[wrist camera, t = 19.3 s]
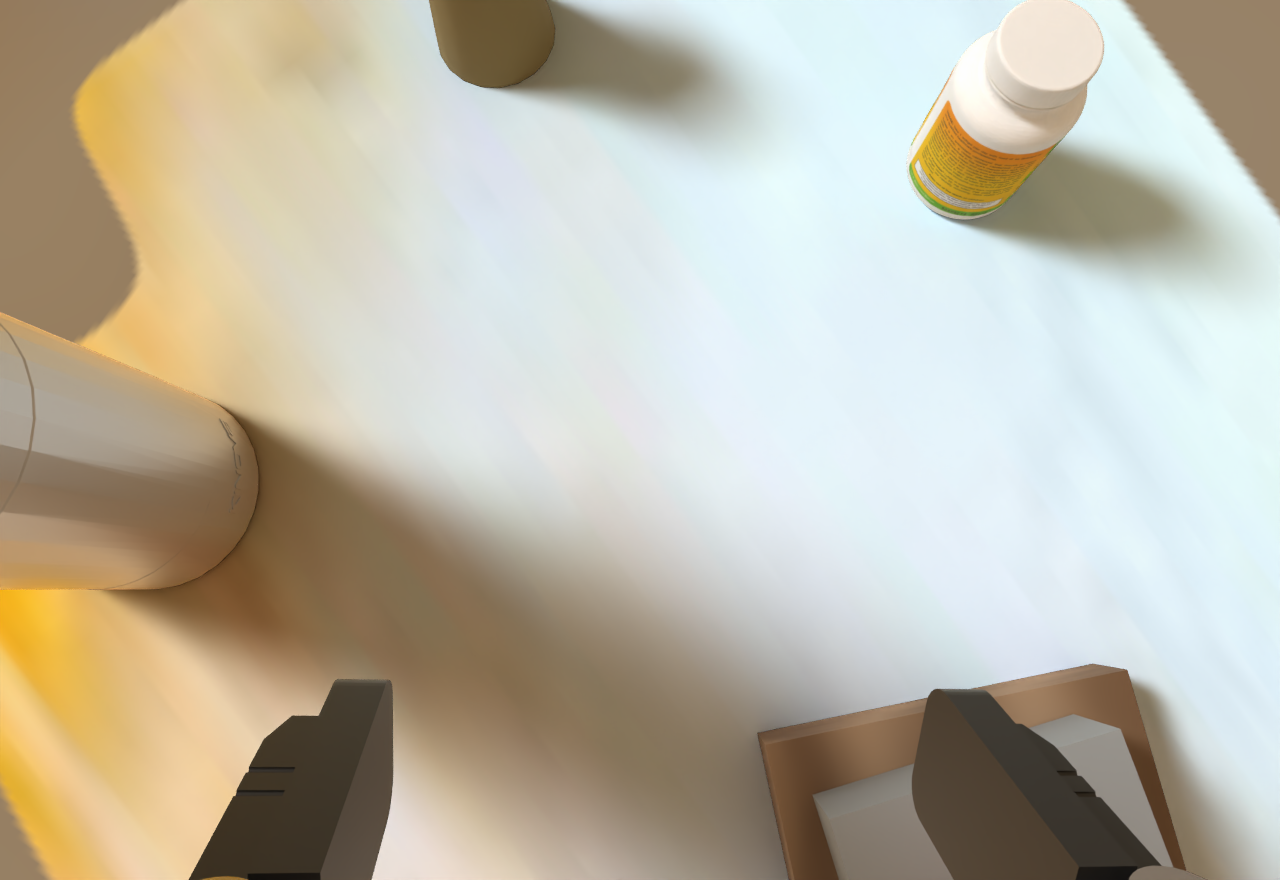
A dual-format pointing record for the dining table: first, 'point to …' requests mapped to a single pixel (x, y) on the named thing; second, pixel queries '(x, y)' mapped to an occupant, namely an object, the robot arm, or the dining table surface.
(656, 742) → the dining table surface
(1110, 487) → the dining table surface
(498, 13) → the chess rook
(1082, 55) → the supplement bottle
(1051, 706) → the walnut base block
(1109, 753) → the slate top block
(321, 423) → the dining table surface
